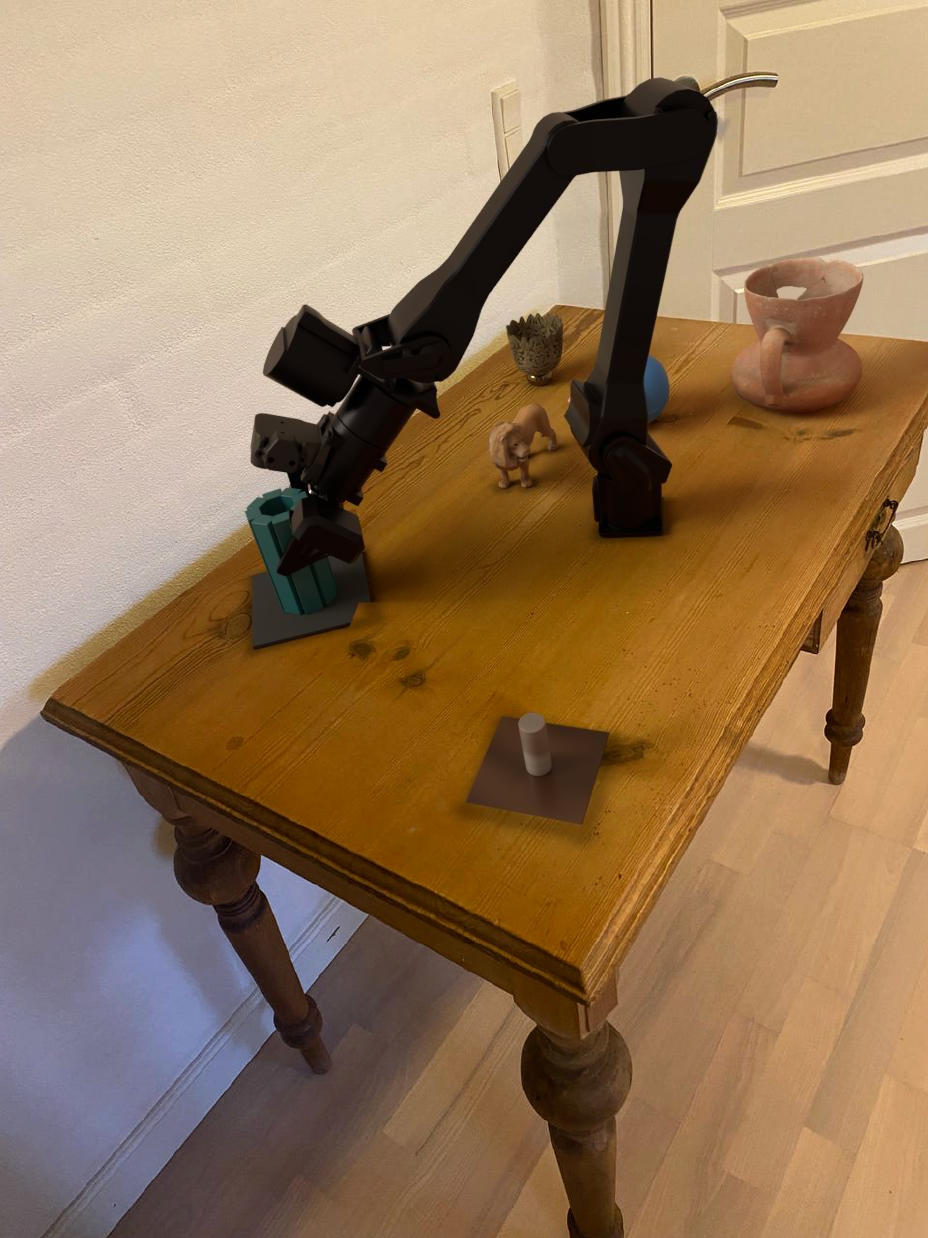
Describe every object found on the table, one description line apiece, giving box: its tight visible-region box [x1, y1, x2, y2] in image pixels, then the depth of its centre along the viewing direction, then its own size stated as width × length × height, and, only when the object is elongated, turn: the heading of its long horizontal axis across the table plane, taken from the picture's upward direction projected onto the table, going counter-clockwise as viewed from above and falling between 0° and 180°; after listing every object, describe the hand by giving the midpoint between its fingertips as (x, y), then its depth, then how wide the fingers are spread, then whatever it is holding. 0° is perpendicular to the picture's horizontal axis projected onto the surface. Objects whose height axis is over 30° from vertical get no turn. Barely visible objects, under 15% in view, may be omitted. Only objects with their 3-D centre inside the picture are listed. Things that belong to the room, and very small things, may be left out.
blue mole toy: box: [567, 354, 670, 424], centre depth 105 cm, size 12×12×8 cm
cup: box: [505, 312, 564, 387], centre depth 117 cm, size 8×7×8 cm
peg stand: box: [465, 712, 610, 826], centre depth 67 cm, size 9×9×6 cm
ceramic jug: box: [729, 257, 864, 413], centre depth 101 cm, size 18×14×14 cm
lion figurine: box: [488, 402, 559, 489], centre depth 100 cm, size 15×5×9 cm, turn 163°
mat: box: [251, 552, 372, 650], centre depth 91 cm, size 12×12×1 cm
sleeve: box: [244, 487, 338, 615], centre depth 87 cm, size 6×6×11 cm
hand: (279, 554), depth 87 cm, fingers closed on sleeve, 6 cm apart
